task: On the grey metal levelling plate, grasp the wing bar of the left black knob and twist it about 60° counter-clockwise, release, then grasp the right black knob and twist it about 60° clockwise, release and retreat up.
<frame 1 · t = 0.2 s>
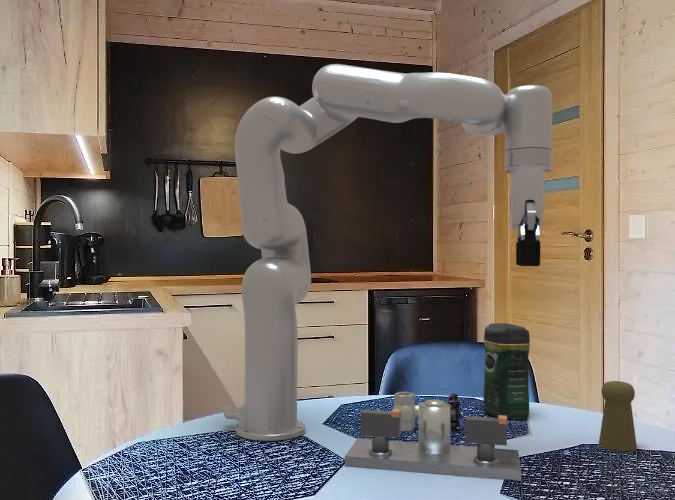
hand: (527, 265, 108), 31 cm above the table, fingers open, 9 cm apart
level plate: (433, 462, 102), on the table
cork: (617, 447, 112), on the table
knob a: (380, 430, 102), point 5 cm above the table, hinge at 0.0°
knob b: (485, 437, 98), point 5 cm above the table, hinge at 0.0°
valve: (425, 430, 122), on the table
coffee jar: (505, 415, 133), on the table
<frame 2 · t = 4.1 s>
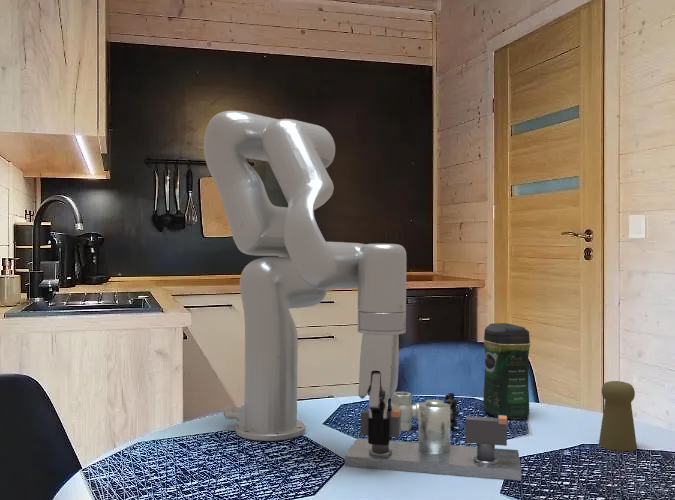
hand: (380, 440, 102), 3 cm above the table, fingers closed on knob a, 2 cm apart
knob a: (380, 430, 102), point 5 cm above the table, hinge at 0.0°, touching gripper
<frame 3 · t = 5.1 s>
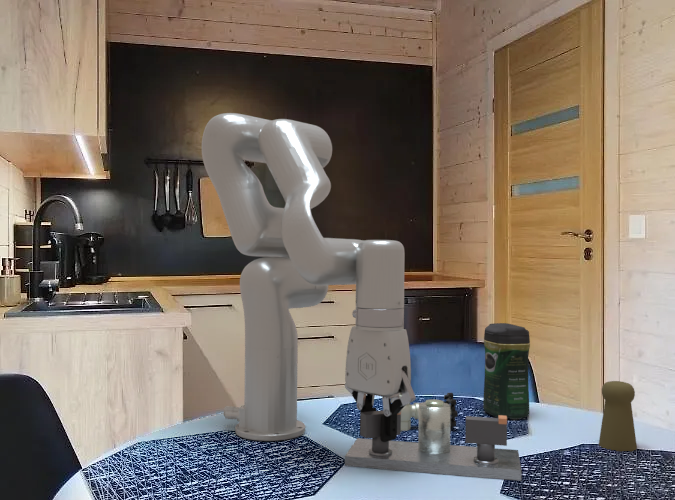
hand: (378, 436, 102), 4 cm above the table, fingers open, 3 cm apart
knob a: (380, 430, 102), point 5 cm above the table, hinge at 36.3°, touching gripper
everything else where it was.
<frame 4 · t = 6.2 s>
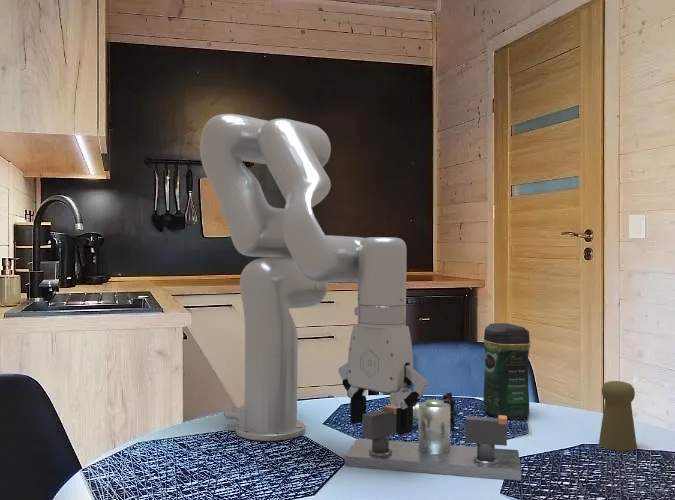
hand: (380, 427, 102), 5 cm above the table, fingers open, 8 cm apart
knob a: (380, 430, 102), point 5 cm above the table, hinge at 55.2°
everything else where it was.
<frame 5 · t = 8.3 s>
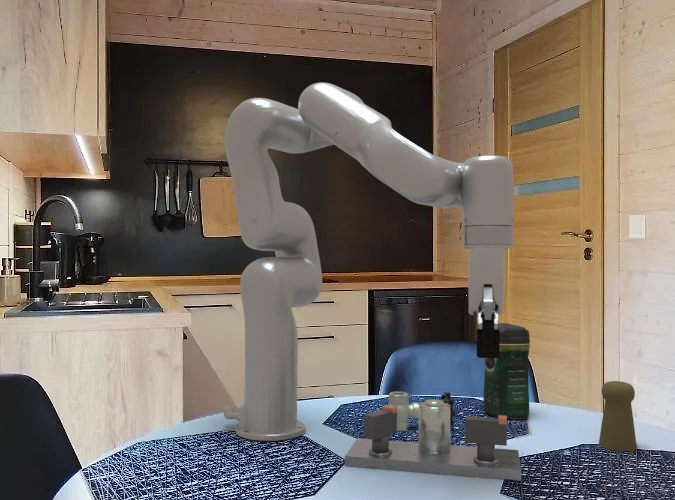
hand: (488, 352, 98), 18 cm above the table, fingers open, 9 cm apart
knob a: (380, 430, 102), point 5 cm above the table, hinge at 63.5°
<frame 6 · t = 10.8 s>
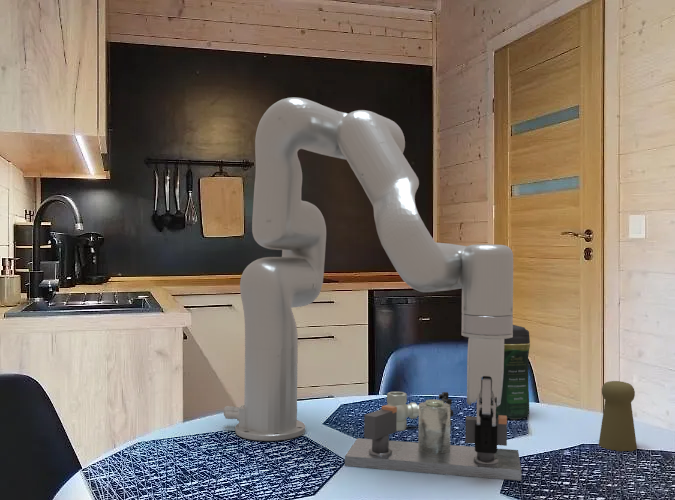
hand: (485, 447, 98), 3 cm above the table, fingers closed on knob b, 2 cm apart
knob a: (380, 430, 102), point 5 cm above the table, hinge at 65.3°
knob b: (485, 437, 98), point 5 cm above the table, hinge at 0.0°, touching gripper
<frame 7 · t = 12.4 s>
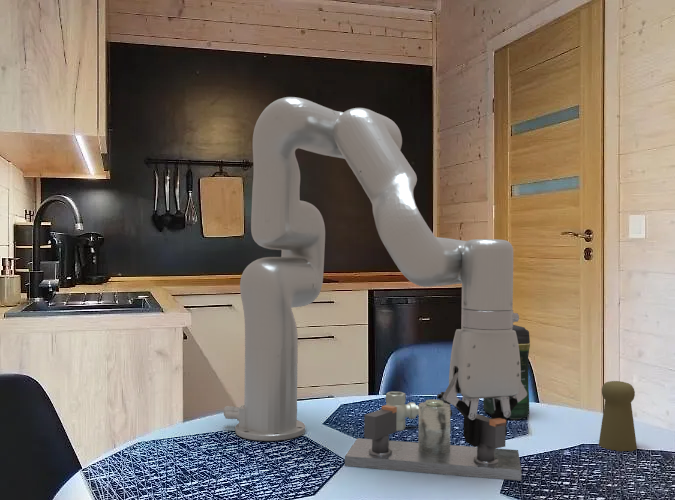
hand: (484, 441, 98), 4 cm above the table, fingers open, 3 cm apart
knob b: (485, 437, 98), point 5 cm above the table, hinge at -46.4°
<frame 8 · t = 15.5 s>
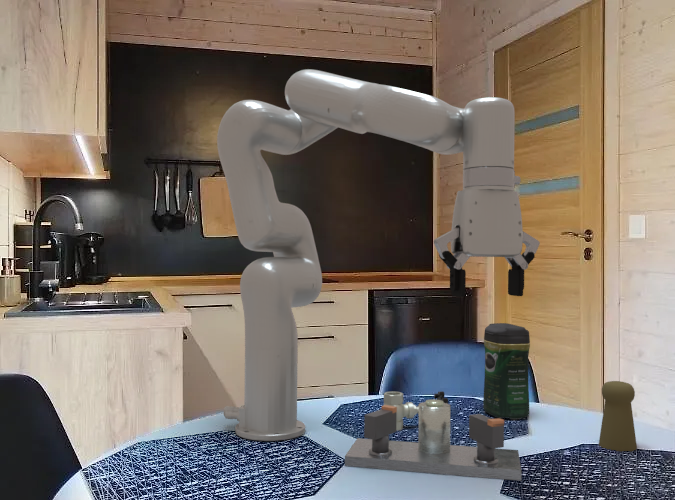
hand: (487, 295, 98), 26 cm above the table, fingers open, 9 cm apart
knob b: (485, 437, 98), point 5 cm above the table, hinge at -54.6°
at the end: knob a at +66° (first picture: +0°); knob b at -55° (first picture: +0°); the gripper is holding nothing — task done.
